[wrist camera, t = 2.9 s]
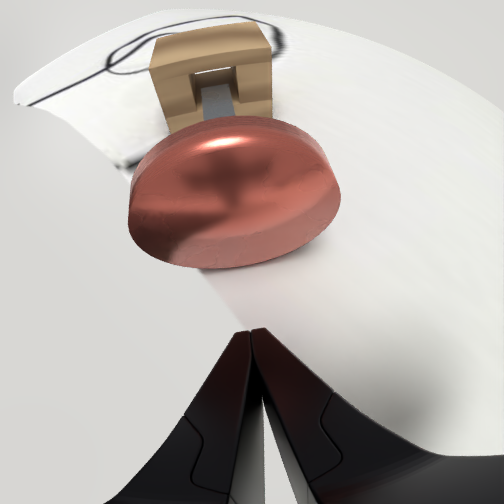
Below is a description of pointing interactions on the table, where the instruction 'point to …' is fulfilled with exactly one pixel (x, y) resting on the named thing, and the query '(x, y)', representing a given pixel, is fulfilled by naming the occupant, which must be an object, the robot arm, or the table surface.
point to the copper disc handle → (231, 190)
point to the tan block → (208, 58)
